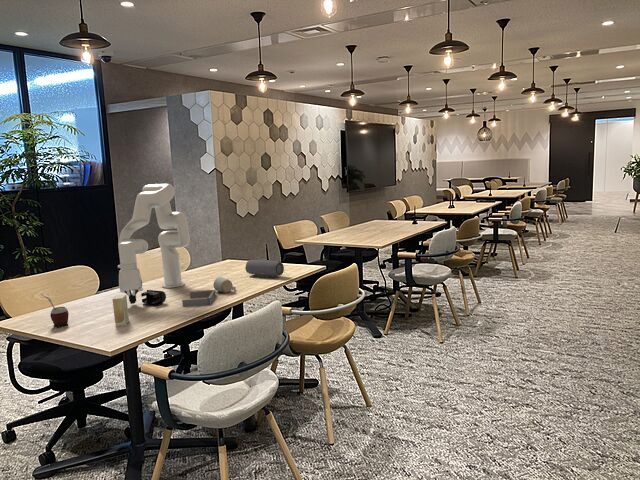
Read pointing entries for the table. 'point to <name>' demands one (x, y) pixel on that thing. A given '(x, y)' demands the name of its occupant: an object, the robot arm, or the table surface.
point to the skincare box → (120, 310)
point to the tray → (200, 301)
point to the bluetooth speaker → (264, 268)
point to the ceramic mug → (223, 285)
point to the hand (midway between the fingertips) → (133, 303)
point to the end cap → (153, 297)
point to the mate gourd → (59, 315)
